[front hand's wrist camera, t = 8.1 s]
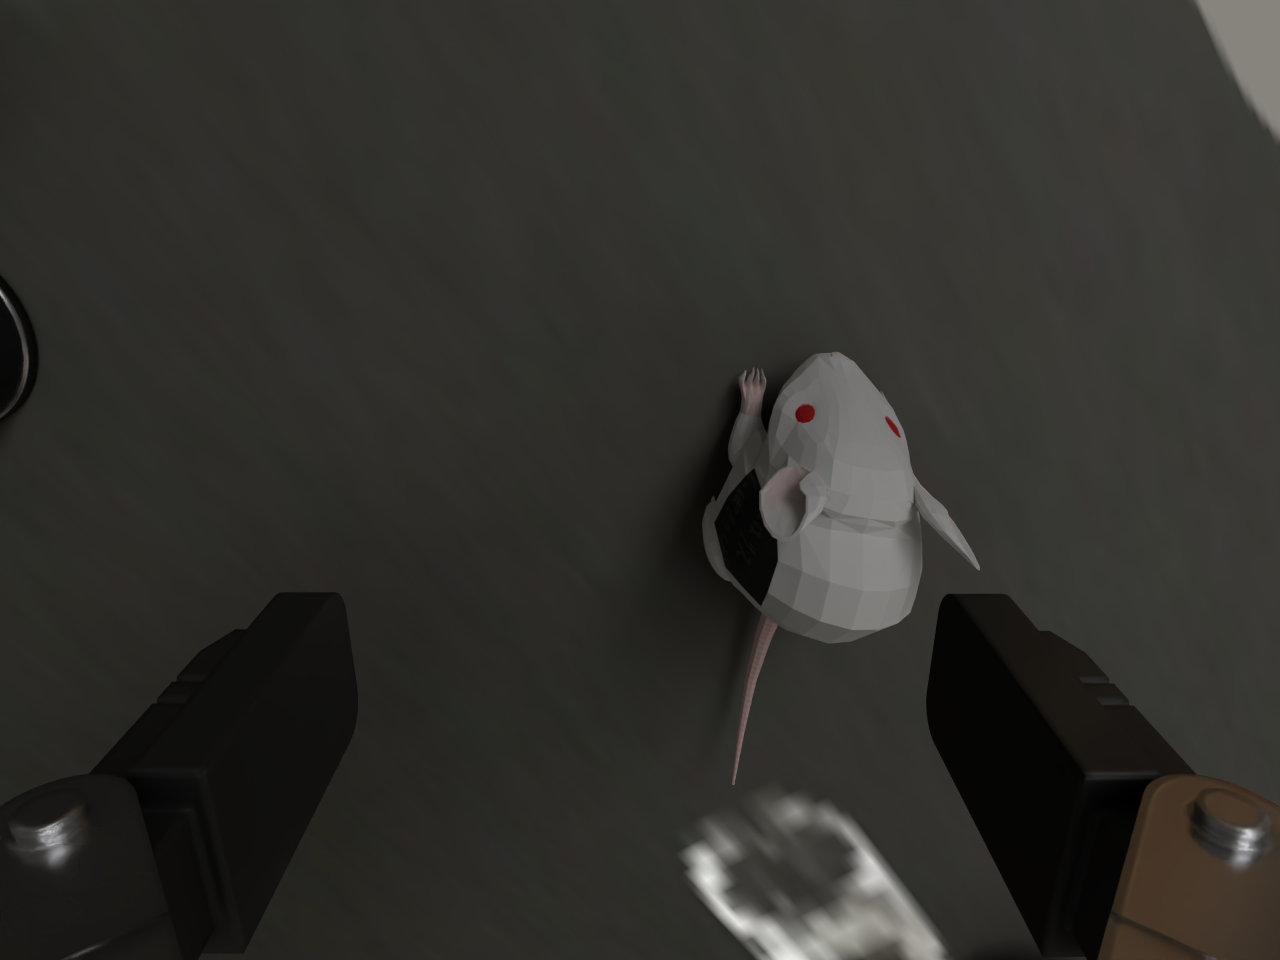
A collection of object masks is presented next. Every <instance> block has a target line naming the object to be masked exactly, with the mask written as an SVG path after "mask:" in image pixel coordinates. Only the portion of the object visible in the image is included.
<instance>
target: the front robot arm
mask: <svg viewBox="0 0 1280 960" xmlns="http://www.w3.org/2000/svg"><path fill="white" fill-rule="evenodd" d="M36 369H37V346H36V341H35V336H34V332H33V329H32V325H31V323H30V320H29V318H28V315H27V313H26V311H25V309H24V307H23V305H22V304H21V302H20V300H19V299H18V297H17V296H16V294H15V293H14V291H13V290H12V289H11V287H10V286H9V285H8V284H7V283H6V281H5V280H4V279H3V278H2V277H1V276H0V420H2V419H4V418H5V417H7V416H9V415H10V414H11V413H13V412H14V411H15V410H16V409H17V408H18V407H19V406H20V405H21V404H22V403H23V401H24V400H25V399H26V397H27V396H28V394H29V392H30V390H31V388H32V385H33V382H34V379H35V375H36ZM926 709H927V719H928V725H929V729H930V733H931V736H932V739H933V741H934V744H935V746H936V748H937V750H938V752H939V754H940V756H941V757H942V759H943V761H944V763H945V765H946V767H947V769H948V771H949V773H950V775H951V777H952V779H953V781H954V783H955V785H956V787H957V789H958V791H959V793H960V795H961V797H962V799H963V801H964V803H965V805H966V807H967V809H968V811H969V813H970V815H971V816H972V818H973V820H974V822H975V824H976V826H977V828H978V830H979V832H980V834H981V836H982V838H983V840H984V842H985V844H986V846H987V848H988V850H989V852H990V854H991V856H992V858H993V860H994V862H995V864H996V866H997V868H998V870H999V872H1000V874H1001V875H1002V877H1003V879H1004V881H1005V883H1006V885H1007V887H1008V889H1009V891H1010V893H1011V895H1012V897H1013V899H1014V901H1015V903H1016V905H1017V907H1018V909H1019V911H1020V913H1021V915H1022V917H1023V919H1024V921H1025V923H1026V925H1027V927H1028V929H1029V931H1030V933H1031V934H1032V936H1033V938H1034V940H1035V942H1036V944H1037V946H1038V948H1039V950H1040V952H1041V954H1042V956H1043V957H1086V958H1087V960H1280V806H1279V805H1277V804H1276V803H1274V802H1272V801H1271V800H1269V799H1267V798H1265V797H1264V796H1262V795H1260V794H1258V793H1255V792H1253V791H1251V790H1249V789H1247V788H1244V787H1242V786H1239V785H1237V784H1234V783H1231V782H1228V781H1224V780H1221V779H1217V778H1213V777H1208V776H1203V775H1197V774H1196V773H1195V772H1194V771H1193V770H1192V769H1191V768H1190V767H1189V766H1188V765H1187V763H1186V762H1185V761H1184V760H1183V759H1182V758H1181V757H1180V756H1179V755H1178V754H1177V753H1176V751H1175V750H1174V749H1173V748H1172V747H1171V746H1170V745H1169V744H1168V743H1167V742H1166V740H1165V739H1164V738H1163V737H1162V736H1161V735H1160V734H1159V733H1158V732H1157V731H1156V730H1155V728H1154V727H1153V726H1152V725H1151V724H1150V723H1149V722H1148V721H1147V720H1146V719H1145V717H1144V716H1143V715H1142V714H1141V713H1140V712H1139V711H1138V710H1137V709H1136V708H1135V707H1134V706H1129V700H1128V699H1127V698H1126V697H1125V696H1124V694H1123V693H1122V692H1121V691H1120V690H1119V689H1118V688H1117V687H1116V686H1115V685H1114V684H1110V683H1109V678H1108V677H1107V676H1106V675H1105V674H1104V673H1103V671H1102V670H1101V669H1100V668H1099V667H1098V666H1097V665H1096V664H1095V663H1094V662H1093V660H1092V659H1091V658H1090V657H1089V656H1088V655H1087V654H1086V653H1085V652H1083V651H1082V650H1080V649H1078V648H1077V647H1075V646H1073V645H1072V644H1070V643H1069V642H1067V641H1065V640H1064V639H1062V638H1060V637H1059V636H1057V635H1055V634H1054V633H1052V632H1051V631H1038V629H1037V628H1036V627H1035V626H1034V625H1033V623H1032V622H1031V621H1030V620H1029V619H1028V618H1027V616H1026V615H1025V614H1024V613H1023V612H1022V611H1021V609H1020V608H1019V607H1018V606H1017V605H1016V604H1015V602H1014V601H1013V600H1012V599H1011V598H1010V597H1009V596H1008V595H1006V594H947V595H946V596H944V598H943V599H942V602H941V604H940V607H939V612H938V619H937V626H936V633H935V639H934V646H933V653H932V660H931V667H930V674H929V681H928V688H927V697H926ZM357 711H358V692H357V684H356V677H355V670H354V663H353V656H352V649H351V642H350V635H349V628H348V621H347V614H346V608H345V604H344V601H343V599H342V597H341V596H340V595H339V594H338V593H336V592H282V593H279V594H277V595H276V596H275V597H274V598H273V599H272V600H271V601H270V602H269V603H268V605H267V606H266V607H265V608H264V609H263V611H262V612H261V613H260V614H259V615H258V616H257V618H256V619H255V620H254V621H253V622H252V624H251V625H250V626H249V627H248V628H247V629H235V630H234V631H232V632H231V633H229V634H227V635H226V636H224V637H222V638H221V639H219V640H217V641H216V642H214V643H213V644H211V645H209V646H208V647H206V648H204V649H203V650H201V651H200V652H199V653H198V654H197V655H196V656H195V657H194V658H193V659H192V661H191V662H190V663H189V664H188V665H187V666H186V667H185V668H184V669H183V671H182V672H181V673H180V674H179V675H178V676H177V681H176V682H172V683H171V684H170V685H169V686H168V687H167V688H166V689H165V690H164V692H163V693H162V694H161V695H160V696H159V697H158V701H157V704H152V705H151V706H150V707H149V708H148V709H147V710H146V711H145V713H144V714H143V715H142V716H141V717H140V718H139V719H138V720H137V721H136V722H135V724H134V725H133V726H132V727H131V728H130V729H129V730H128V731H127V732H126V734H125V735H124V736H123V737H122V738H121V739H120V740H119V741H118V742H117V743H116V745H115V746H114V747H113V748H112V749H111V750H110V751H109V752H108V753H107V755H106V756H105V757H104V758H103V759H102V760H101V761H100V762H99V763H98V765H97V766H96V767H95V768H94V769H93V770H92V771H91V772H90V773H89V774H85V775H77V776H72V777H67V778H63V779H59V780H56V781H52V782H49V783H46V784H43V785H41V786H38V787H36V788H33V789H31V790H29V791H27V792H25V793H22V794H20V795H18V796H16V797H15V798H13V799H11V800H9V801H8V802H6V803H4V804H3V805H1V806H0V960H198V958H199V957H200V955H201V953H244V952H245V950H246V948H247V946H248V944H249V942H250V940H251V938H252V936H253V934H254V932H255V930H256V928H257V926H258V924H259V922H260V920H261V918H262V916H263V914H264V912H265V910H266V908H267V906H268V904H269V902H270V900H271V898H272V896H273V894H274V892H275V890H276V888H277V886H278V884H279V882H280V880H281V878H282V876H283V874H284V872H285V870H286V868H287V866H288V864H289V862H290V860H291V858H292V856H293V854H294V852H295V850H296V848H297V846H298V844H299V842H300V840H301V838H302V836H303V834H304V832H305V830H306V828H307V826H308V824H309V822H310V821H311V819H312V817H313V815H314V813H315V811H316V809H317V807H318V805H319V803H320V801H321V799H322V797H323V795H324V793H325V791H326V789H327V787H328V785H329V783H330V781H331V779H332V777H333V775H334V773H335V771H336V769H337V767H338V765H339V763H340V761H341V759H342V757H343V755H344V753H345V751H346V749H347V747H348V745H349V743H350V741H351V738H352V736H353V733H354V729H355V725H356V719H357Z"/></svg>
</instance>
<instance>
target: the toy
mask: <svg viewBox="0 0 1280 960" xmlns="http://www.w3.org/2000/svg"><path fill="white" fill-rule="evenodd" d="M761 373H762V376H761V381H760V382H759V380H760V378H759V370H758V368H757V373H756V375H755V377H754V368H753V370H752V372H751V373H750V374H749V375H748V377H747V379H746V380H745V376H746V370H745V371H744V372H743V374H742V375H741V376H740V377H739V387H740V390H741V396H742V401H741V408H740V412H739V414H738V416H737V418H736V420H735V423H734V426H733V430H732V433H731V436H730V439H729V445H728V455H729V461H730V462H731V464H732V466H733V468H732V470H731V472H730V474H729V476H728V478H727V480H726V482H725V484H724V486H723V488H722V490H721V492H720V494H719V496H718V499H717V501H716V500H715V497H714V496H713V497H712V499H711V502H710V503H709V504H708V505H707V507H706V510H705V513H704V517H703V521H702V529H703V541H704V546H705V551H706V555H707V557H708V560H709V562H710V563H711V565H712V567H713V569H714V570H715V571H716V573H717V574H718V575H719V576H720V577H722V578H723V579H724V580H727V581H730V582H732V584H733V585H734V586H735V587H736V588H737V589H738V590H739V591H740V592H741V593H742V594H743V595H744V596H745V597H746V598H747V599H748V600H749V601H750V602H751V603H752V604H753V605H754V606H755V607H756V608H757V609H758V610H759V611H760V612H762V614H761V617H760V620H759V623H758V626H757V630H756V634H755V639H754V643H753V647H752V652H751V656H750V660H749V665H748V669H747V673H746V679H745V685H744V692H743V699H742V706H741V713H740V719H739V726H738V735H737V743H736V752H735V761H734V769H733V778H732V784H733V785H734V782H735V777H736V772H737V767H738V762H739V757H740V752H741V747H742V741H743V736H744V731H745V727H746V722H747V718H748V714H749V710H750V705H751V701H752V697H753V693H754V689H755V684H756V680H757V678H758V675H759V672H760V669H761V666H762V664H763V661H764V658H765V655H766V652H767V650H768V647H769V644H770V641H771V639H772V636H773V634H774V632H775V630H776V628H777V626H778V625H779V626H781V627H782V628H784V629H785V630H787V631H790V632H794V633H797V634H800V635H803V636H807V637H810V638H813V639H816V640H819V641H823V642H826V643H838V642H851V641H853V640H856V639H858V638H861V637H864V636H866V635H869V634H871V633H874V632H876V631H879V630H881V629H884V628H887V627H889V626H892V625H894V624H897V623H899V622H900V621H901V620H902V619H903V618H904V617H906V616H907V615H908V614H909V613H910V611H911V608H912V605H913V602H914V600H915V597H916V592H917V588H918V584H919V580H920V576H921V572H922V539H921V528H920V517H919V512H920V513H921V515H922V517H923V518H924V519H925V520H926V521H927V522H928V523H929V524H930V525H931V526H932V527H933V528H934V529H935V530H936V531H937V532H938V533H939V534H940V535H941V536H942V537H943V538H944V539H945V540H946V541H947V542H948V543H949V544H950V545H951V546H952V547H953V548H955V549H956V550H957V551H958V552H959V553H960V554H961V555H962V556H963V557H964V558H966V559H967V560H968V561H969V562H970V563H971V564H972V565H973V566H974V567H975V568H977V569H978V570H980V567H979V564H978V562H977V560H976V558H975V556H974V554H973V552H972V550H971V549H970V547H969V545H968V544H967V542H966V540H965V539H964V537H963V535H962V534H961V532H960V531H959V529H958V528H957V526H956V525H955V523H954V522H953V520H952V519H951V518H950V517H949V515H948V511H947V510H946V509H945V508H944V507H943V505H942V504H941V503H939V502H938V501H937V500H936V499H934V498H933V497H932V496H931V495H930V494H929V493H928V492H927V491H926V490H925V489H924V488H923V487H922V486H921V485H920V483H919V482H918V480H917V479H916V477H915V476H914V474H913V471H912V468H911V465H910V458H909V452H908V447H907V442H906V438H905V434H904V431H903V429H902V427H901V425H900V423H899V421H898V419H897V417H896V415H895V413H894V410H893V408H892V407H891V406H890V405H889V403H888V402H887V400H886V398H885V396H884V395H883V393H882V392H881V390H880V392H881V394H880V392H879V391H878V390H877V389H876V388H875V386H874V385H873V384H872V383H871V381H870V380H869V379H868V378H867V377H866V376H865V374H864V373H863V372H862V371H861V370H860V368H859V367H858V366H857V365H856V364H855V362H853V361H852V360H850V359H849V358H847V357H845V356H844V355H842V354H841V353H838V352H832V353H821V354H815V355H812V356H811V357H809V358H808V359H807V360H805V361H804V362H803V363H802V364H801V365H800V366H799V367H798V368H797V370H796V371H795V372H794V373H793V375H792V376H791V377H790V378H789V379H788V381H787V382H786V383H785V384H784V385H783V387H782V389H781V390H780V392H779V395H778V397H777V400H776V402H775V405H774V407H773V411H772V415H771V418H770V421H769V427H768V433H767V432H766V430H765V429H764V426H763V422H762V418H761V410H762V401H763V395H764V391H765V388H766V378H765V377H764V373H763V370H762V368H761ZM753 377H754V380H753ZM744 380H745V381H744ZM918 510H919V512H918Z"/></svg>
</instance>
